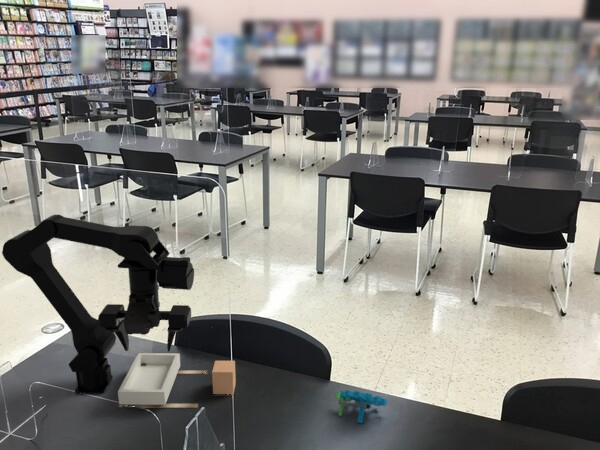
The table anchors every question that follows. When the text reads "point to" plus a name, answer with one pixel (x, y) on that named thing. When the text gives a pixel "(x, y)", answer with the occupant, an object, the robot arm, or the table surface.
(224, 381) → the part block
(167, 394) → the white open storage bin
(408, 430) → the table surface
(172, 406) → the track
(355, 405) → the toy construction assembly
